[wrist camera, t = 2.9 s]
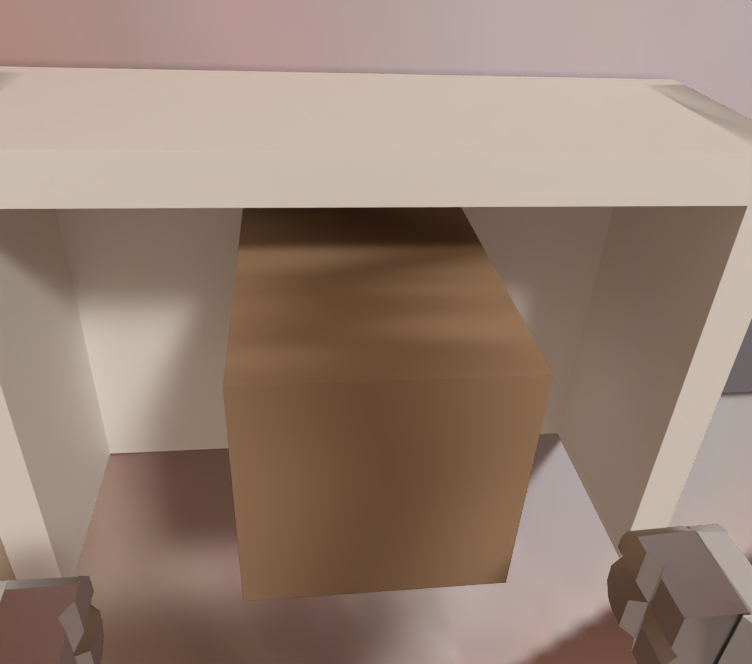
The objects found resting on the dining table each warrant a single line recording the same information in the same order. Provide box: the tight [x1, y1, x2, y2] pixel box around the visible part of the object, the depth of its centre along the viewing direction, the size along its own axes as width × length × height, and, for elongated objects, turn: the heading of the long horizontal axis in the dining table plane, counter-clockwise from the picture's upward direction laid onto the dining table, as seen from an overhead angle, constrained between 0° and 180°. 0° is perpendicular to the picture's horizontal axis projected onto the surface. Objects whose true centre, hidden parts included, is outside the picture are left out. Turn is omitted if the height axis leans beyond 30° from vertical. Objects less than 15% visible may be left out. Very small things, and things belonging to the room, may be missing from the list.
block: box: [223, 207, 553, 601], centre depth 15 cm, size 5×5×8 cm
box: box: [0, 66, 752, 580], centre depth 17 cm, size 16×11×6 cm
